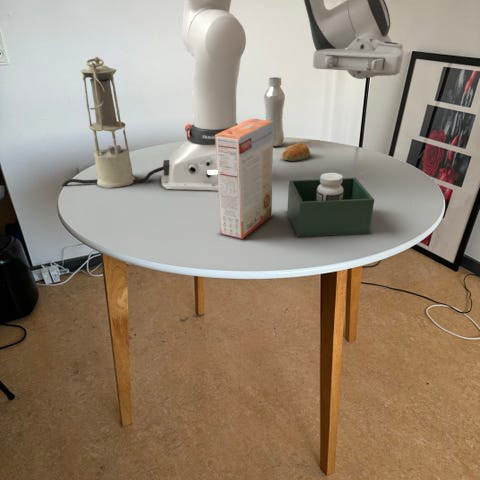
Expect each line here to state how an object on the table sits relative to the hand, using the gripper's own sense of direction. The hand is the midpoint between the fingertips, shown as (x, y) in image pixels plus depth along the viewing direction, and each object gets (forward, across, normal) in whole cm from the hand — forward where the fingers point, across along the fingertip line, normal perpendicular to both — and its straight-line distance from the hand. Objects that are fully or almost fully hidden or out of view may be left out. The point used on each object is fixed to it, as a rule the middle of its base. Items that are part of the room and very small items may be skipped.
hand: (348, 65), depth 101 cm
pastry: (-23, -19, +29) cm, 42 cm away
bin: (+18, +4, +29) cm, 35 cm away
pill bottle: (+19, +4, +28) cm, 34 cm away
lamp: (+18, -56, +29) cm, 66 cm away
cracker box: (+27, -12, +29) cm, 42 cm away
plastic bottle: (-33, -30, +29) cm, 53 cm away
